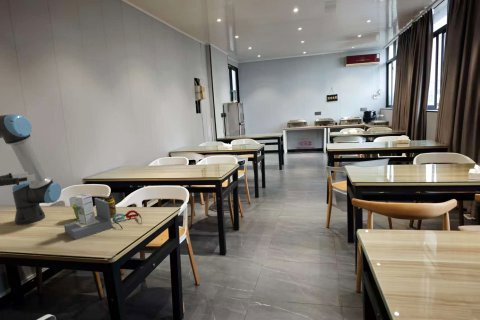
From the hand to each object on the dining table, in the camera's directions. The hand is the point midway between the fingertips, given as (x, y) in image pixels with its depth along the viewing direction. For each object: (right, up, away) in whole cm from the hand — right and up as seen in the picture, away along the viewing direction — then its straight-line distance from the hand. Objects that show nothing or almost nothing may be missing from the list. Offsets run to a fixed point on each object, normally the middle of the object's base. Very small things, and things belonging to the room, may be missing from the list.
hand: (31, 175), depth 151 cm
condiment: (+25, -26, +31) cm, 47 cm away
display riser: (+22, -29, +11) cm, 38 cm away
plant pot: (+9, -27, +32) cm, 42 cm away
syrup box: (+22, -25, +10) cm, 35 cm away
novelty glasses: (+41, -27, +18) cm, 52 cm away
